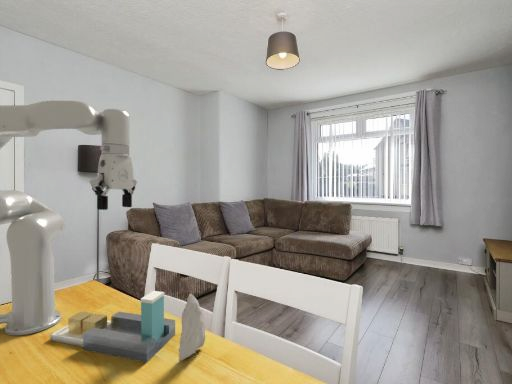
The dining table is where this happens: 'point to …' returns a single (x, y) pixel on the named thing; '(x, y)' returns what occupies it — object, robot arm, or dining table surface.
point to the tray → (68, 336)
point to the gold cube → (95, 322)
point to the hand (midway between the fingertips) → (115, 208)
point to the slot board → (127, 353)
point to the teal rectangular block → (152, 315)
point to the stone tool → (191, 328)
